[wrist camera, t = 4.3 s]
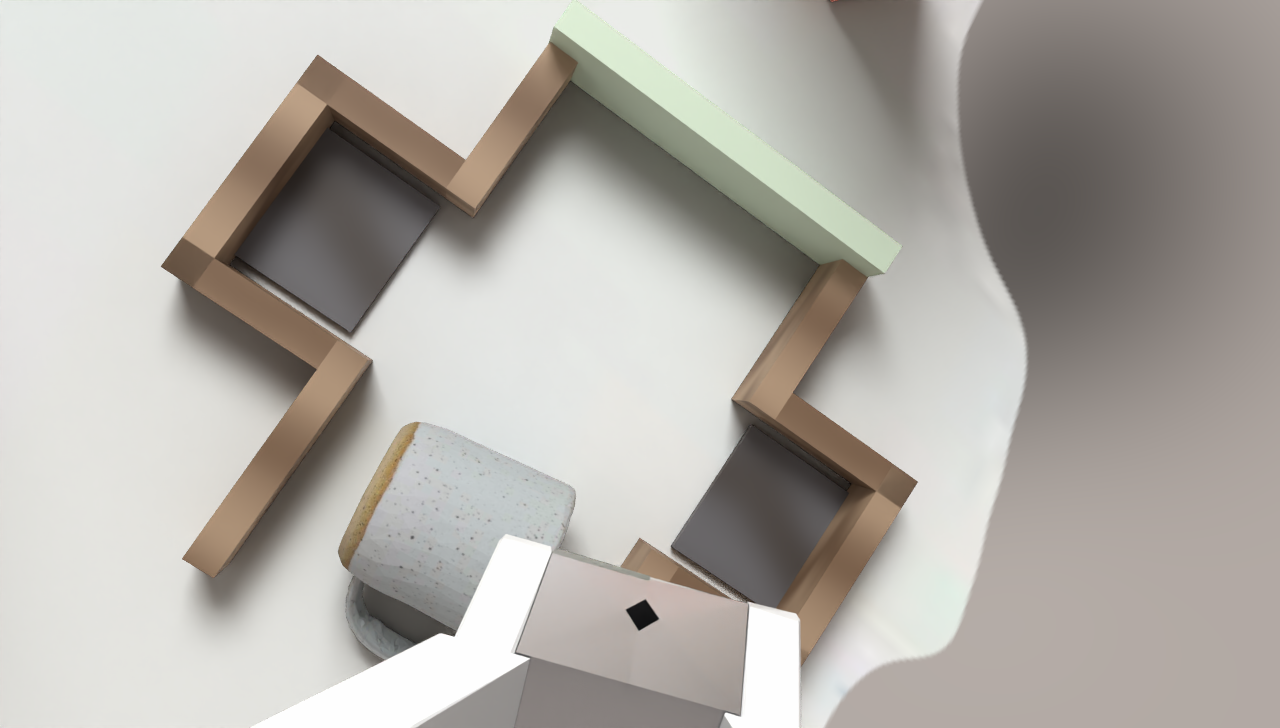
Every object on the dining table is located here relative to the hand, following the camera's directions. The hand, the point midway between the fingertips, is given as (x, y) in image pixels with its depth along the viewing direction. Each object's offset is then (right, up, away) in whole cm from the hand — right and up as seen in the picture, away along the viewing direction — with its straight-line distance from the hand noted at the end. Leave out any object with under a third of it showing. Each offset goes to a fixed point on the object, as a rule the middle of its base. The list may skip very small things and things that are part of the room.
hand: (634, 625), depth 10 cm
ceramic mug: (-9, -6, +38) cm, 39 cm away
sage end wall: (+3, +12, +39) cm, 42 cm away
